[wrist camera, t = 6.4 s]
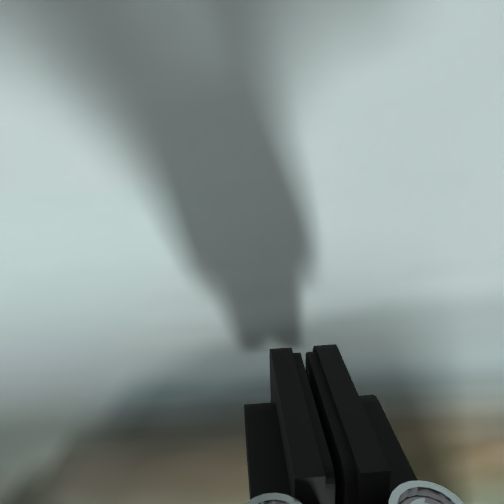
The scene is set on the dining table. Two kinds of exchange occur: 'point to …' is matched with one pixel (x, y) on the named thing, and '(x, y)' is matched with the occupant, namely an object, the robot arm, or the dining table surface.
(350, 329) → the dining table surface
